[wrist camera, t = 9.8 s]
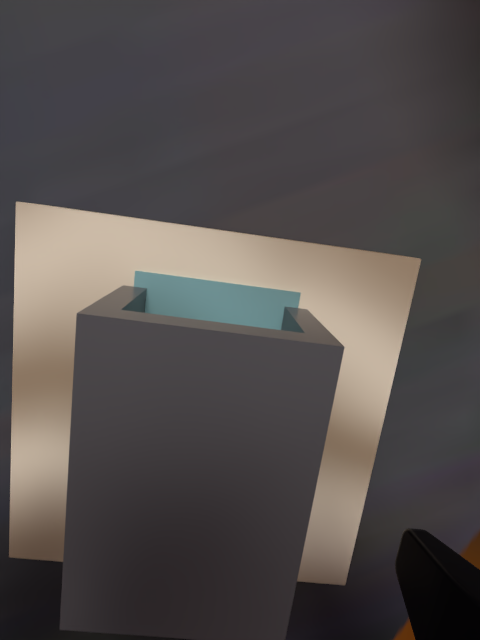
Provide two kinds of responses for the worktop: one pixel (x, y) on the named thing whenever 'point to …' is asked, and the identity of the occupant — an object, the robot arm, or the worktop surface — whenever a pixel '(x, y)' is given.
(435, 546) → the robot arm
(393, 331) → the pin board
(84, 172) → the worktop surface
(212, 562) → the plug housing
